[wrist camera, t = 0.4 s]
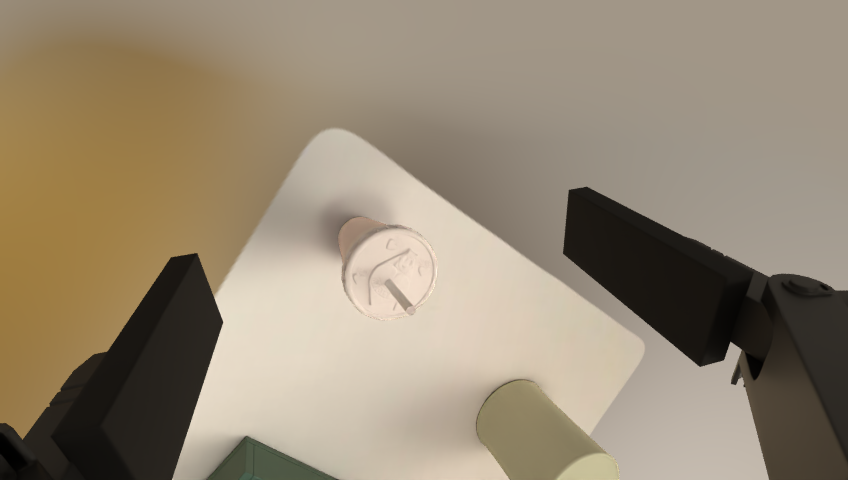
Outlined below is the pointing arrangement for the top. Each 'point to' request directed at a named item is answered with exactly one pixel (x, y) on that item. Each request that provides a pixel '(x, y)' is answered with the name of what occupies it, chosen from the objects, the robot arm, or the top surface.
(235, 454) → the bin
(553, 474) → the can
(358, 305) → the smoothie
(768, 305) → the robot arm
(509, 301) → the top surface
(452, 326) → the top surface
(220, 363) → the top surface
